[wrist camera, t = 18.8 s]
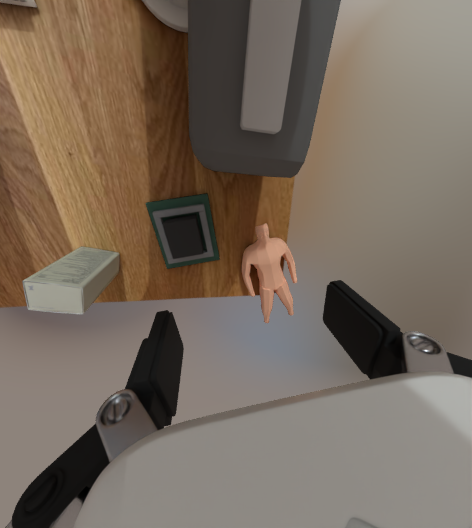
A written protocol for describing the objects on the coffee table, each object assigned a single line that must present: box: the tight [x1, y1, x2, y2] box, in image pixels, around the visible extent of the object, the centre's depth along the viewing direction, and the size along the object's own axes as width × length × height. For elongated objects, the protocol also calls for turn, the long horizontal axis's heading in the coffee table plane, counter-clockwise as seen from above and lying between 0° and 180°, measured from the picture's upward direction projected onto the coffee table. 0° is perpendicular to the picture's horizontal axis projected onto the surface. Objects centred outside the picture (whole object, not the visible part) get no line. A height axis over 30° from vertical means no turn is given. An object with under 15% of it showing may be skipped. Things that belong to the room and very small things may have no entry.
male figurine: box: [242, 223, 297, 323], centre depth 38 cm, size 11×5×25 cm
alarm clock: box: [188, 0, 341, 178], centre depth 21 cm, size 16×11×16 cm
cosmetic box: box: [22, 247, 120, 314], centre depth 29 cm, size 6×4×12 cm
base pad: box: [146, 193, 220, 269], centre depth 33 cm, size 12×10×2 cm
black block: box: [163, 214, 204, 259], centre depth 32 cm, size 6×5×4 cm
